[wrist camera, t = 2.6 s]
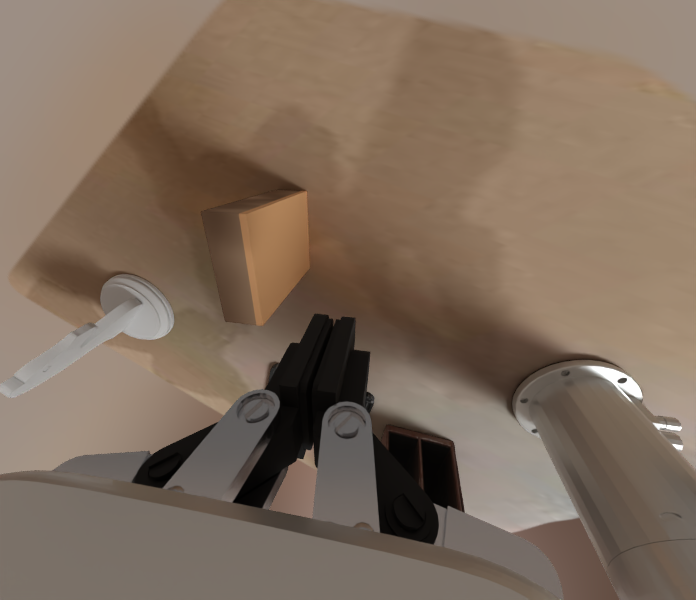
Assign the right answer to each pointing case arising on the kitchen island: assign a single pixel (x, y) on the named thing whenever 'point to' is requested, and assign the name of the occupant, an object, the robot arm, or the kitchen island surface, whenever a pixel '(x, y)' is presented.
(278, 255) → the tan flat block
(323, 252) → the kitchen island surface
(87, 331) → the chess piece
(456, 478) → the letter holder
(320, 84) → the kitchen island surface
